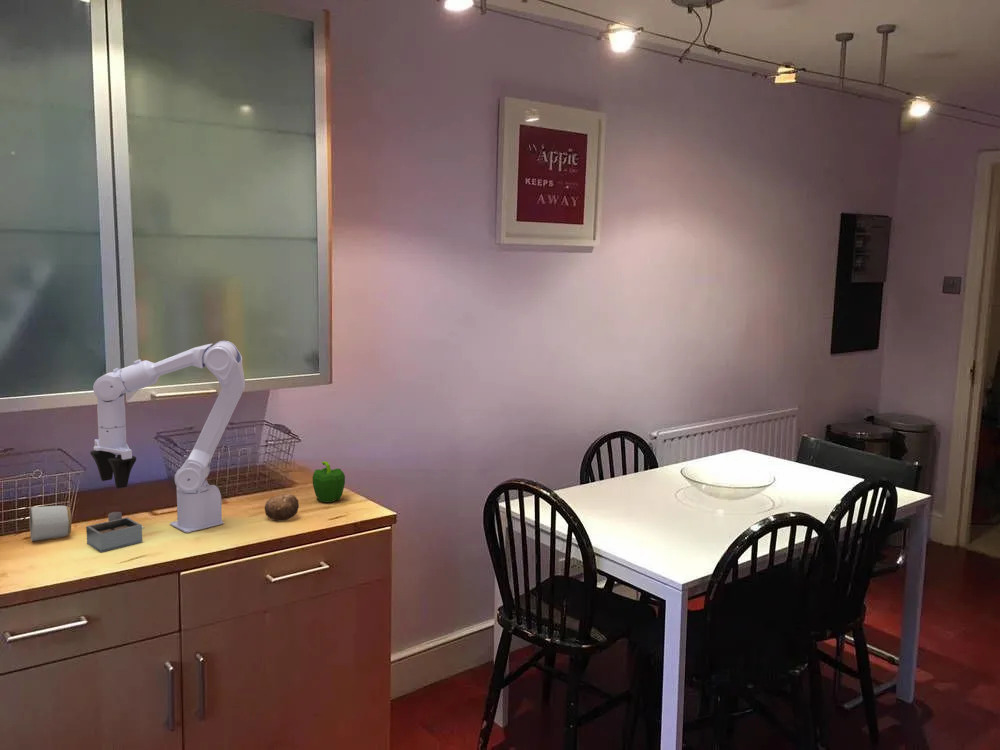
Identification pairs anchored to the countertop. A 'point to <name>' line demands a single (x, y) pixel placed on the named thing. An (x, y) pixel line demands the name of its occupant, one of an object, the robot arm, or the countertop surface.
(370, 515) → the countertop surface
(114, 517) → the lid
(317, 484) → the bell pepper
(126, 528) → the tin
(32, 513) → the ceramic mug
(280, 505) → the brown potato
